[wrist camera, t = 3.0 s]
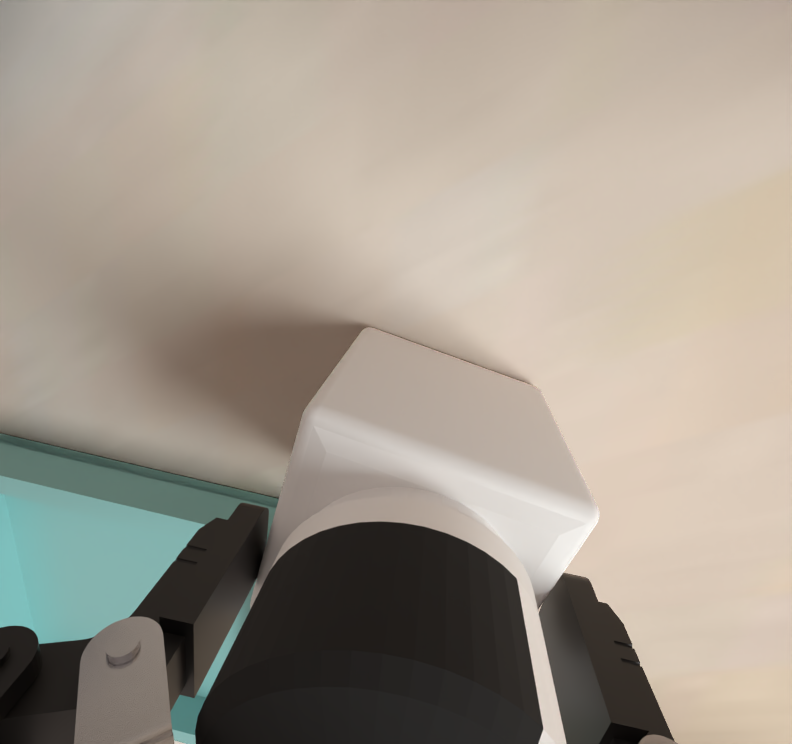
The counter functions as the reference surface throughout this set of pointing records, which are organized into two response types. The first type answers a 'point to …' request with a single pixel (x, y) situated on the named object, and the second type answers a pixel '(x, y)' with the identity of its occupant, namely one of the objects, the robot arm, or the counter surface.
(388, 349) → the white square bottle
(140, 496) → the tray
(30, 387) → the counter surface
